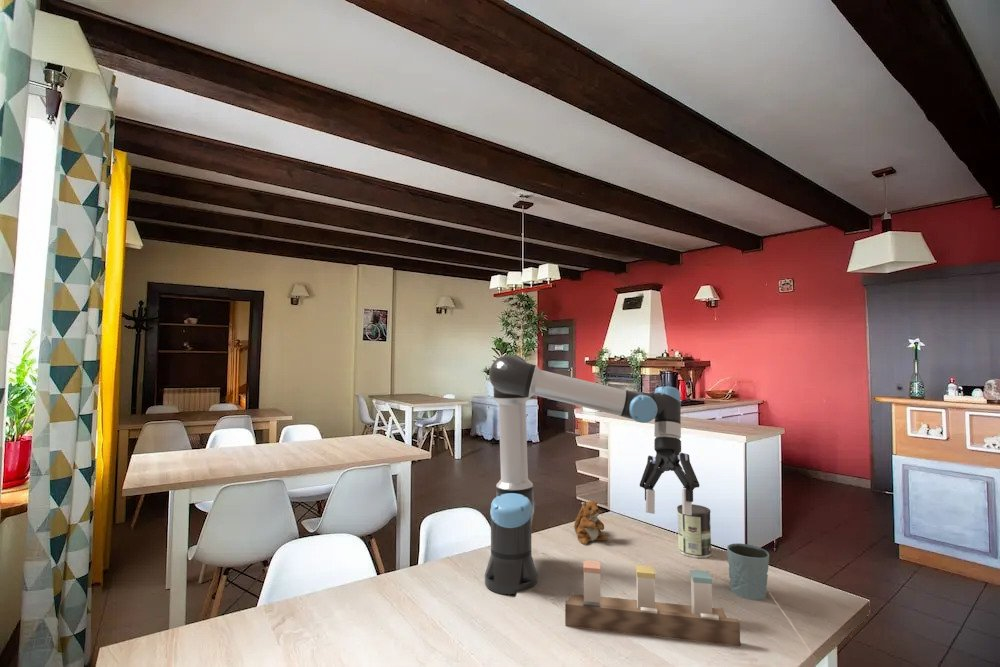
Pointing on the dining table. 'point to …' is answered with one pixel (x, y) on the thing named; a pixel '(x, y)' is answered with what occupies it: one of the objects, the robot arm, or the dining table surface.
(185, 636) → the dining table surface
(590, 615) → the button console
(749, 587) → the blue-grey embossed cup
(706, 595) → the button
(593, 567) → the button
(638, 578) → the middle button
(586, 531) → the stuffed squirrel
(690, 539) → the coffee can
